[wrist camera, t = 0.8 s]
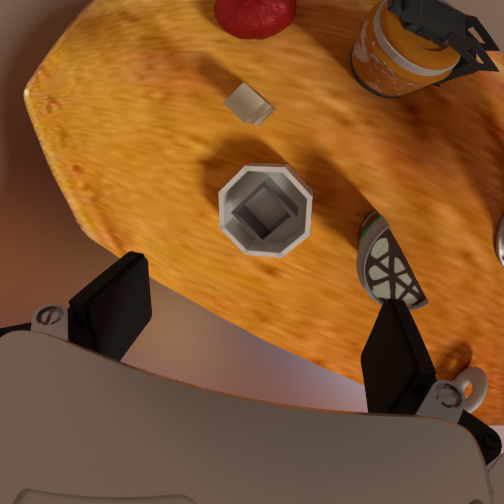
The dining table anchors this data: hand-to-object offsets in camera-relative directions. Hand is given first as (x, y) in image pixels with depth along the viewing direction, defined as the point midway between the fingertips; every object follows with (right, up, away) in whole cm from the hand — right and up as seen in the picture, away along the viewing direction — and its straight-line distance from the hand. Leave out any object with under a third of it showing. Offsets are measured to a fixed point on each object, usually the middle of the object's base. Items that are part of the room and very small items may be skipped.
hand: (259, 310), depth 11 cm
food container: (+17, +3, +27) cm, 32 cm away
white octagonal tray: (+2, +9, +28) cm, 29 cm away
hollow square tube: (+2, +9, +28) cm, 29 cm away
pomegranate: (+1, +33, +17) cm, 38 cm away
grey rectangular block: (+1, +20, +23) cm, 31 cm away
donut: (+43, -23, +32) cm, 58 cm away
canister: (+17, +26, +17) cm, 35 cm away
